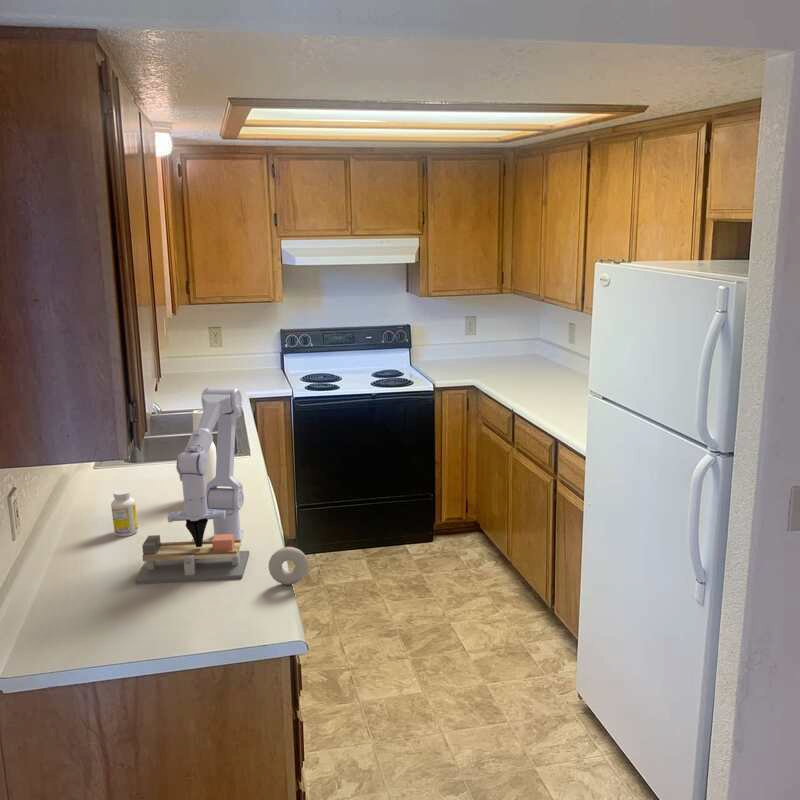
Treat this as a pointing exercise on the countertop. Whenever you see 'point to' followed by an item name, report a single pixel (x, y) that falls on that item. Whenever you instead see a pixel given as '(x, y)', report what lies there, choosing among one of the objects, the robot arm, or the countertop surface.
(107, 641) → the countertop surface
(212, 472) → the alcohol
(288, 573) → the donut
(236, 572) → the tilt stand
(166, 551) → the beam
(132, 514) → the supplement bottle
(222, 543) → the block
